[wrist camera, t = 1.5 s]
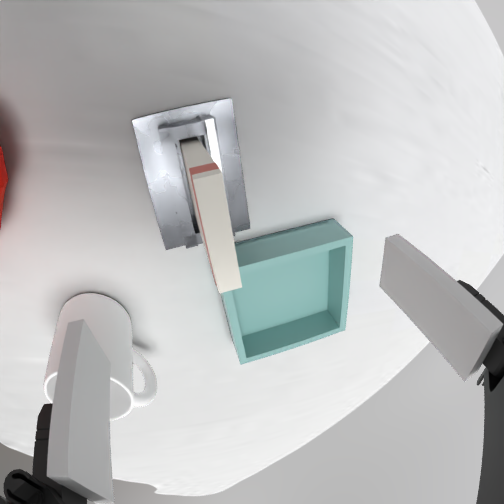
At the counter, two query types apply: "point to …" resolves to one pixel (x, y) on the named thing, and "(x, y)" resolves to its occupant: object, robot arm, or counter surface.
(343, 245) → the tray
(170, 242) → the metal rectangular holder
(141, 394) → the mug
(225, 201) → the cream red-striped panel
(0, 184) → the tomato
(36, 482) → the robot arm
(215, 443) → the counter surface
